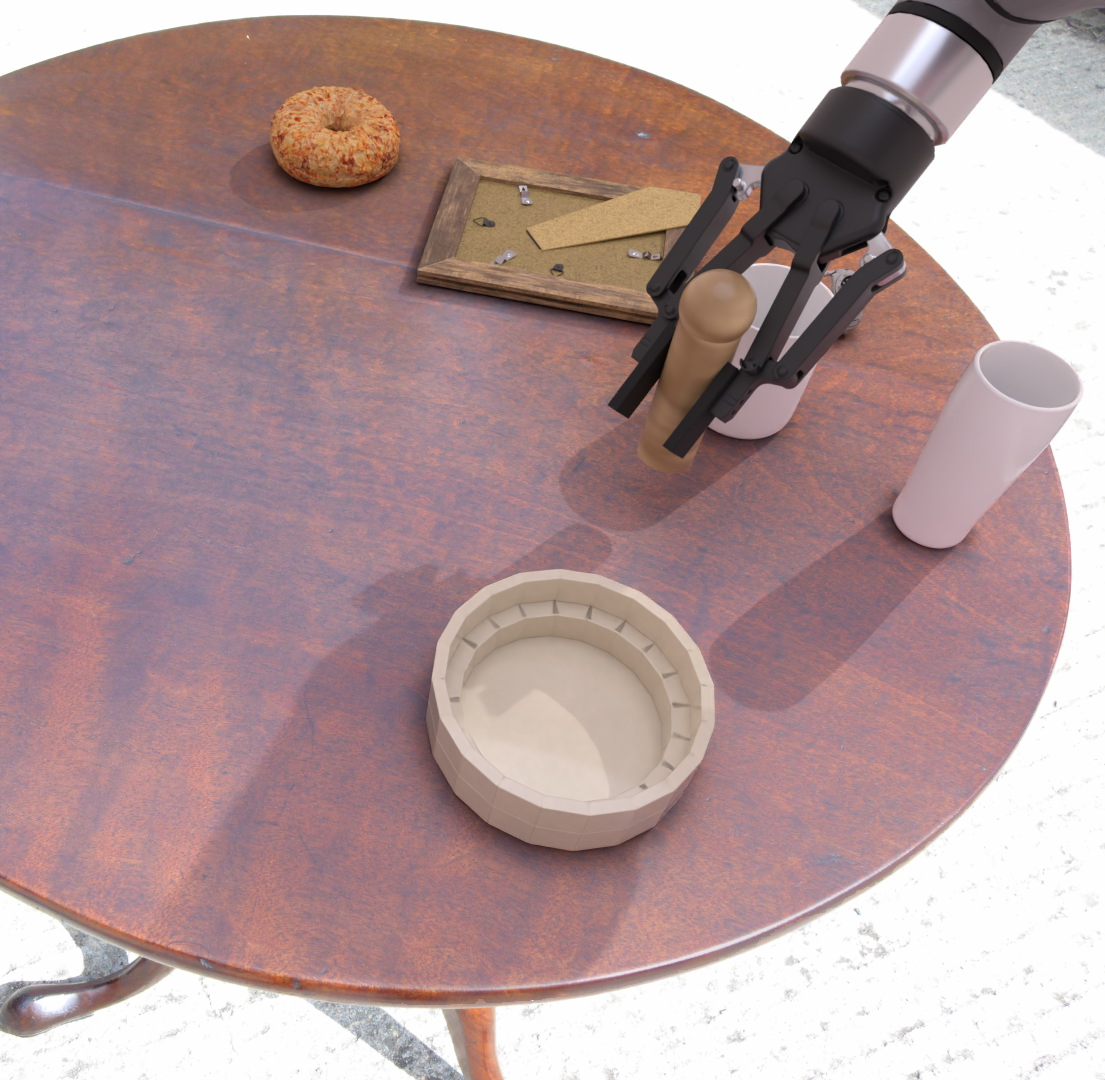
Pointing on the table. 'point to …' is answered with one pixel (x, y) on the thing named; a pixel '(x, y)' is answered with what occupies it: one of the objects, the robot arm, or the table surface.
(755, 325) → the mug
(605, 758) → the bowl
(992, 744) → the table surface
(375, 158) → the bagel
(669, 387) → the pestle
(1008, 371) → the drinking glass
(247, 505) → the table surface
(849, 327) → the wristwatch
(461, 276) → the picture frame
